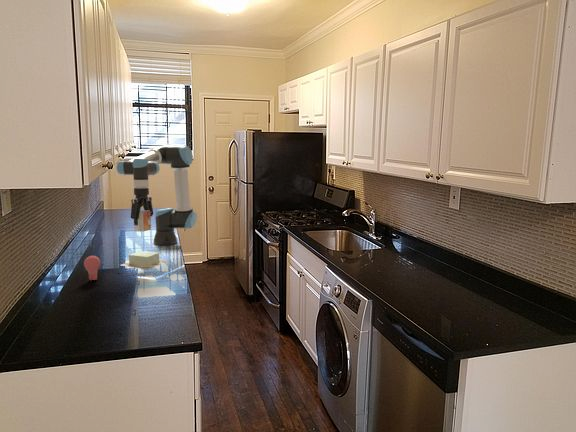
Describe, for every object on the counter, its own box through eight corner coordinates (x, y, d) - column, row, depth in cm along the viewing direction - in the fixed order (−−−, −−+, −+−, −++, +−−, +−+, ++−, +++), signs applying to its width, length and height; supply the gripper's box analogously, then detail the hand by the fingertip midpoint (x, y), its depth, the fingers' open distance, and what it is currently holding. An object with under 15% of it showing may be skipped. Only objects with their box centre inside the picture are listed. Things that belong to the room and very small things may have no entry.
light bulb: (94, 277, 213) (93, 253, 211) (104, 279, 210) (103, 255, 208) (81, 281, 207) (80, 256, 205) (91, 283, 204) (90, 258, 202)
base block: (141, 259, 243) (140, 250, 242) (159, 261, 239) (159, 252, 239) (129, 264, 234) (128, 254, 233) (148, 266, 230) (147, 257, 229)
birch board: (141, 259, 248) (141, 257, 248) (168, 262, 242) (168, 260, 242) (119, 267, 231) (119, 265, 231) (148, 270, 225) (148, 268, 225)
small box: (143, 232, 229) (142, 212, 228) (133, 231, 231) (133, 211, 229) (151, 229, 237) (150, 210, 236) (142, 228, 238) (141, 209, 237)
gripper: (148, 185, 242) (149, 226, 245) (121, 188, 222) (123, 232, 225) (159, 186, 239) (160, 227, 243) (133, 189, 219) (135, 233, 223)
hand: (142, 229), depth 234 cm, fingers closed on small box, 8 cm apart
